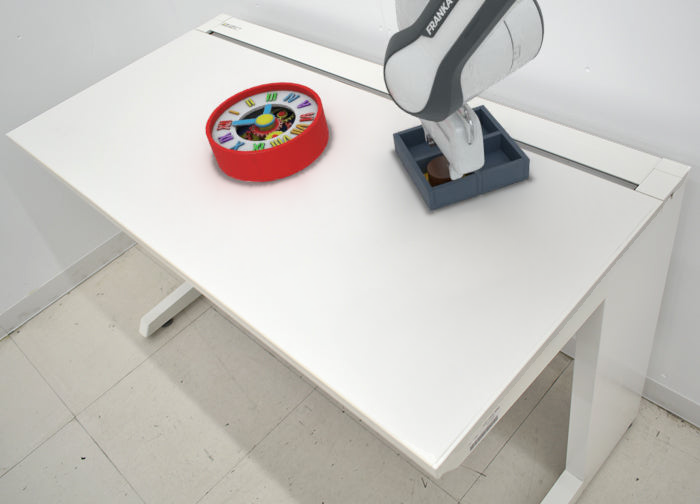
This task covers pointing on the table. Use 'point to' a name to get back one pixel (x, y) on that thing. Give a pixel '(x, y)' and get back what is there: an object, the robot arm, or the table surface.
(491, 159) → the grid
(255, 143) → the toy clock
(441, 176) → the cylinder
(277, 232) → the table surface
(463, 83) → the robot arm
